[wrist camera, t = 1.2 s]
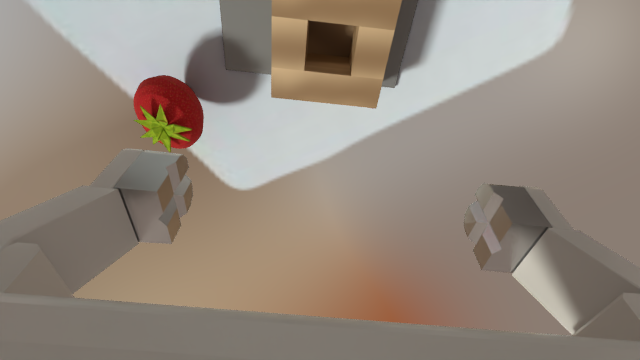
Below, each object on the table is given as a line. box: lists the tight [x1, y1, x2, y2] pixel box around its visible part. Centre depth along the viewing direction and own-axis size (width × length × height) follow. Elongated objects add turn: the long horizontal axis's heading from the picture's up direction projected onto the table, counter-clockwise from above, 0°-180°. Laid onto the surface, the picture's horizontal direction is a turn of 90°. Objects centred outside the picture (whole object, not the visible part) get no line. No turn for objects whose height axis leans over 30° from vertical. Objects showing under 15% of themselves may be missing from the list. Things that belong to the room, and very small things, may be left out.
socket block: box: [271, 0, 402, 108], centre depth 30 cm, size 10×10×5 cm
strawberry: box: [134, 75, 204, 152], centre depth 33 cm, size 6×8×10 cm
